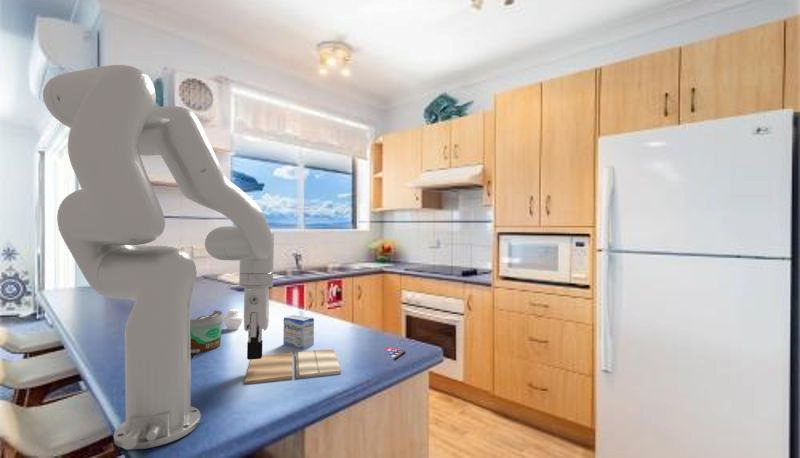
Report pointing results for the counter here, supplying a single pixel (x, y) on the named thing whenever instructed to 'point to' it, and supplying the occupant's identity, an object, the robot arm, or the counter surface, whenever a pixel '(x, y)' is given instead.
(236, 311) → the white rounded piece
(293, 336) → the medicine box
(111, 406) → the counter surface
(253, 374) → the click plank
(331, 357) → the board
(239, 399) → the counter surface
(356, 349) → the counter surface
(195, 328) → the food container
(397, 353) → the smartphone
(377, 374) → the counter surface
